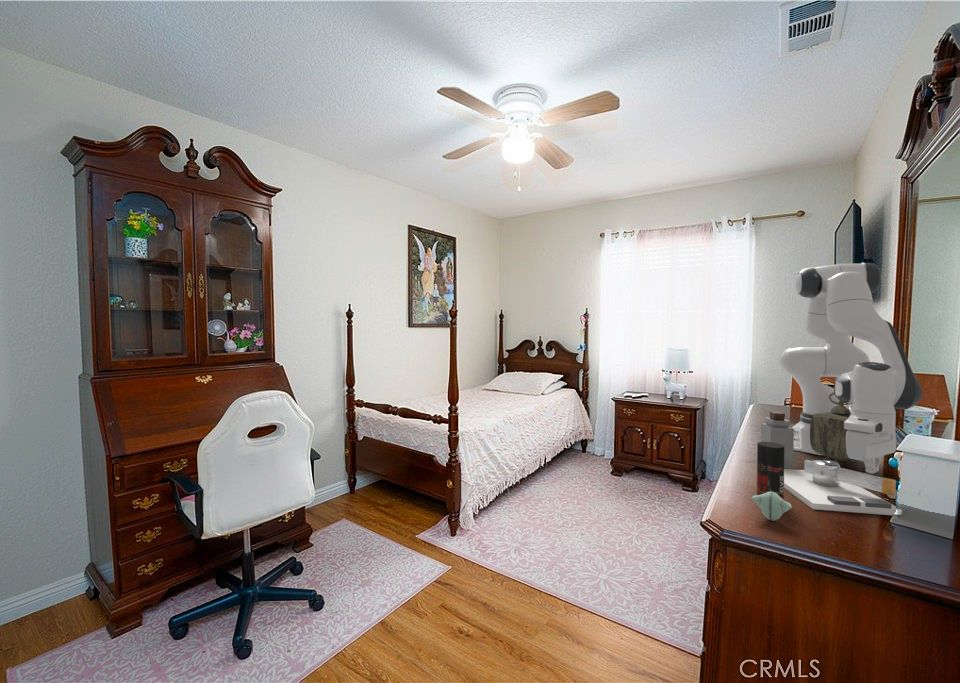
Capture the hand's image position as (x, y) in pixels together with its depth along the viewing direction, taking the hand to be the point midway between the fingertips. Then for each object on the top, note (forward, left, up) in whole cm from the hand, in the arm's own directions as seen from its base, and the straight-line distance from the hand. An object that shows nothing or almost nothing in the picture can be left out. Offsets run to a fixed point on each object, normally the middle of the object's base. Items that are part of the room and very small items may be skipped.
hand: (872, 472), depth 114 cm
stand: (-1, -11, -6) cm, 13 cm away
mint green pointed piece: (+22, -33, -7) cm, 41 cm away
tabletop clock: (-25, +6, -7) cm, 26 cm away
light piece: (+1, -6, -5) cm, 8 cm away
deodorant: (+9, -28, -7) cm, 31 cm away
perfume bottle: (-23, -13, -7) cm, 27 cm away
